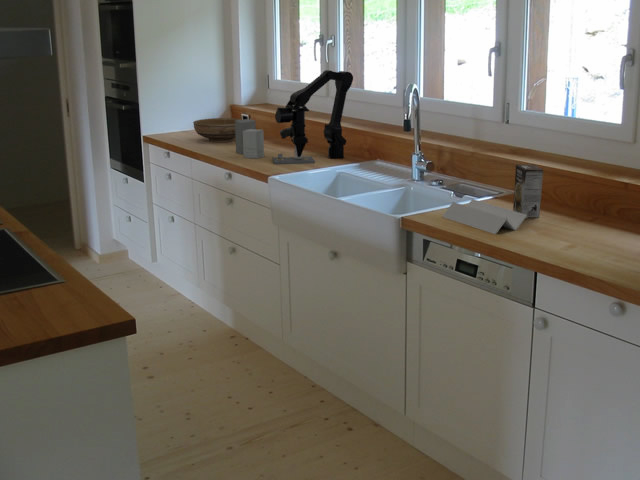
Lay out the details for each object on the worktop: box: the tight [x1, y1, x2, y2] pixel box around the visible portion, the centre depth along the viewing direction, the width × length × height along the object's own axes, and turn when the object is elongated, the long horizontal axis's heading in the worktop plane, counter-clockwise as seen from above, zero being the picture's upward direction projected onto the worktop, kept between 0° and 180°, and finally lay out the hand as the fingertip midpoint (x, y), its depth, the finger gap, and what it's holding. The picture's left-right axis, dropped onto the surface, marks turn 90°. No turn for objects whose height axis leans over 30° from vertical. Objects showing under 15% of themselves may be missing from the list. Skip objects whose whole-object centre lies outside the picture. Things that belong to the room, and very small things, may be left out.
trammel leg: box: [294, 144, 303, 159], centre depth 355 cm, size 3×3×6 cm
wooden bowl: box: [192, 117, 245, 143], centre depth 414 cm, size 37×29×10 cm
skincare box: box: [235, 118, 257, 155], centre depth 376 cm, size 8×7×16 cm
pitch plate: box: [271, 153, 316, 165], centre depth 356 cm, size 18×12×4 cm, turn 98°
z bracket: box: [442, 198, 527, 235], centre depth 251 cm, size 12×25×6 cm
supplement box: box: [243, 128, 265, 159], centre depth 365 cm, size 7×7×13 cm
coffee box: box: [512, 163, 544, 219], centre depth 259 cm, size 9×6×16 cm
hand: (298, 156), depth 356 cm, fingers closed on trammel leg, 3 cm apart
